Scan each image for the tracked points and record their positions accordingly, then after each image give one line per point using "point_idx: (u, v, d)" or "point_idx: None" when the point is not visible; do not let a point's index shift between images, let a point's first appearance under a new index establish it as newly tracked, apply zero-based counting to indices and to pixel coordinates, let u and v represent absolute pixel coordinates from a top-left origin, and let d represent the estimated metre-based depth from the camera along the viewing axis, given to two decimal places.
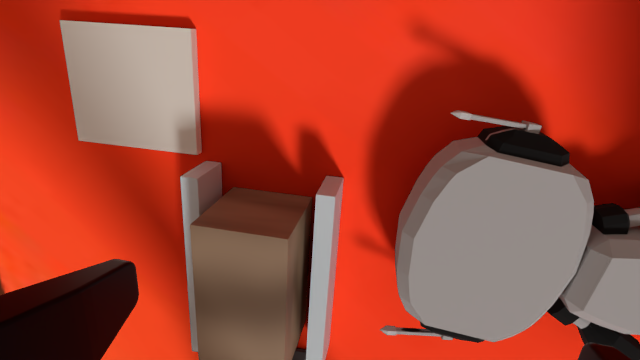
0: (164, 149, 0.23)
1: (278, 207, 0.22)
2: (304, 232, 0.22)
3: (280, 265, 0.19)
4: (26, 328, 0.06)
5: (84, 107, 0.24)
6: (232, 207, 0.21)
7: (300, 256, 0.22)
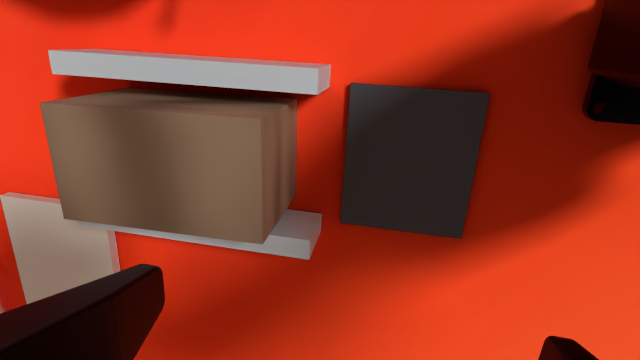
0: (107, 242, 0.23)
1: None
2: (132, 93, 0.18)
3: (74, 114, 0.15)
4: (61, 336, 0.06)
5: None
6: None
7: (142, 97, 0.17)
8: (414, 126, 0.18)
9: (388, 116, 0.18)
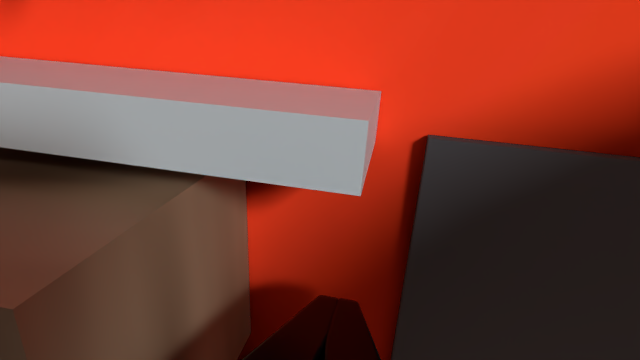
0: None
1: None
2: None
3: None
4: None
5: None
6: None
7: None
8: (577, 242, 0.07)
9: (514, 215, 0.08)
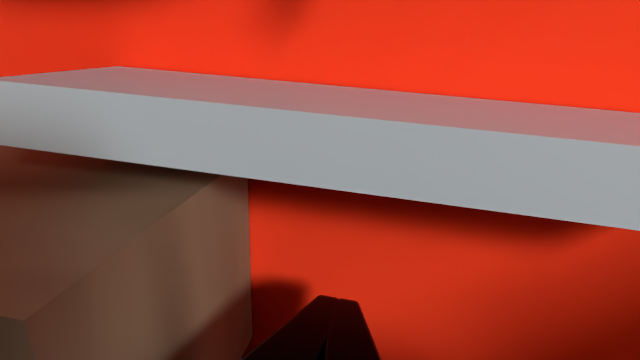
0: None
1: None
2: None
3: None
4: None
5: None
6: None
7: None
8: None
9: None
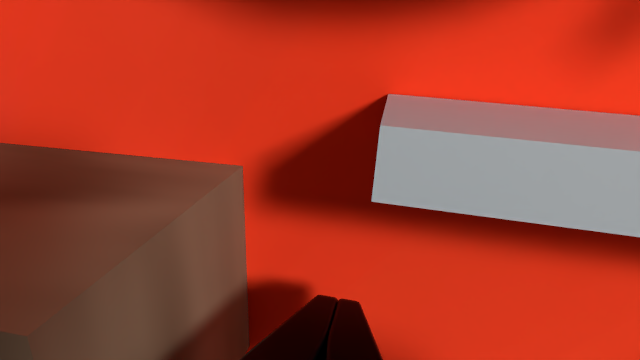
0: None
1: None
2: None
3: None
4: None
5: None
6: None
7: None
8: None
9: None
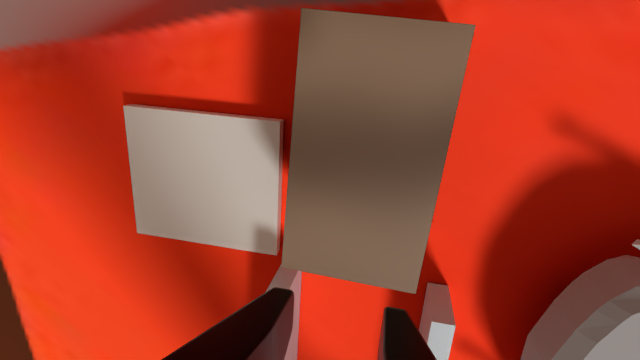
0: (237, 247, 0.21)
1: None
2: None
3: (451, 78, 0.11)
4: None
5: (146, 199, 0.21)
6: None
7: None
8: None
9: None
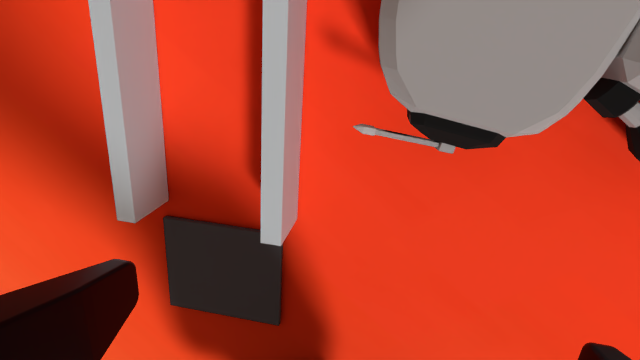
0: None
1: None
2: None
3: None
4: (26, 328, 0.06)
5: None
6: None
7: None
8: (251, 278, 0.22)
9: (257, 261, 0.22)
